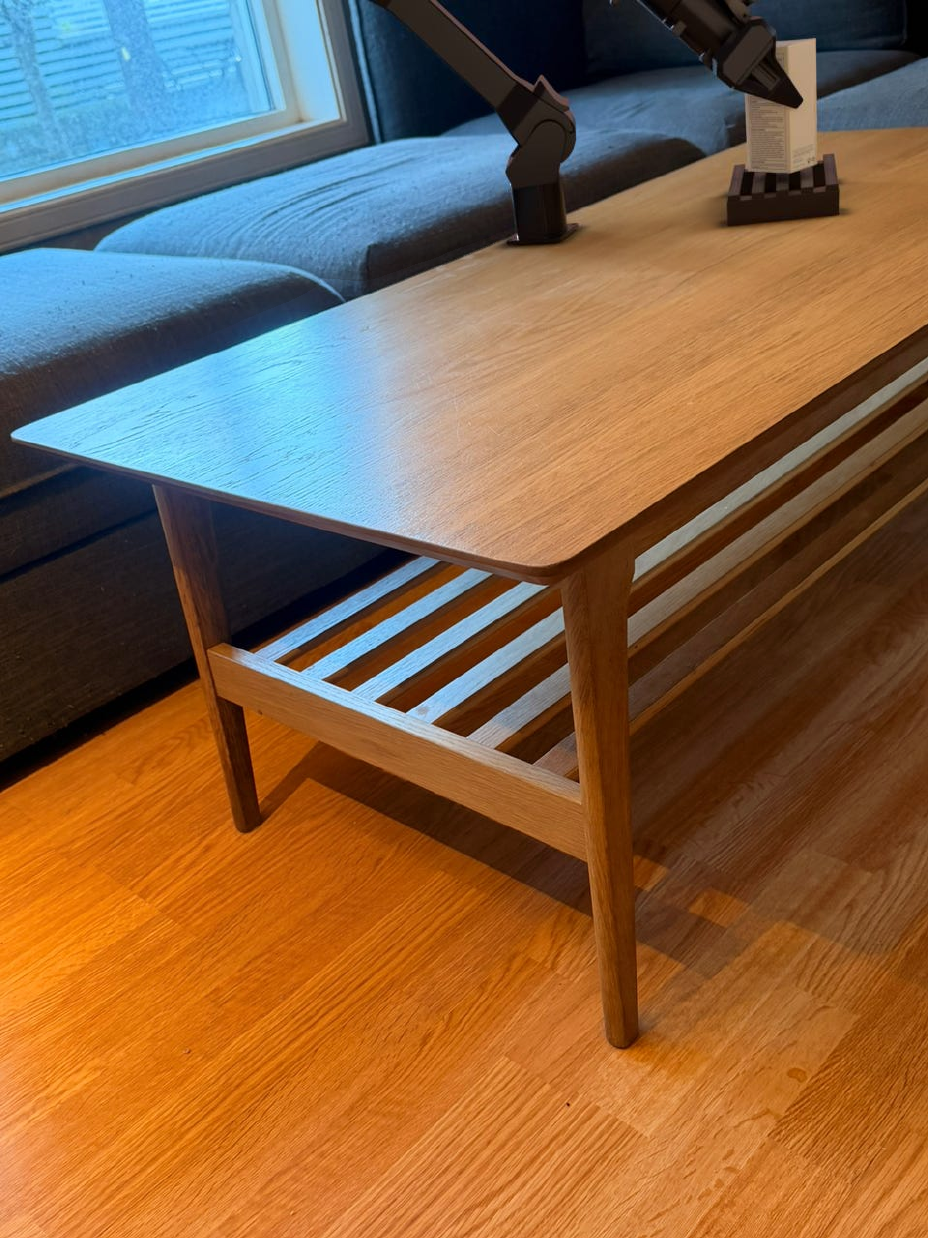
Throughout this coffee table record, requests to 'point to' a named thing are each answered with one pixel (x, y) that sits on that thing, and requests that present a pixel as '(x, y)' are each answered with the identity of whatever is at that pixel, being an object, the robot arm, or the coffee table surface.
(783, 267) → the coffee table surface
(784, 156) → the cosmetic box
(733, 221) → the rack
